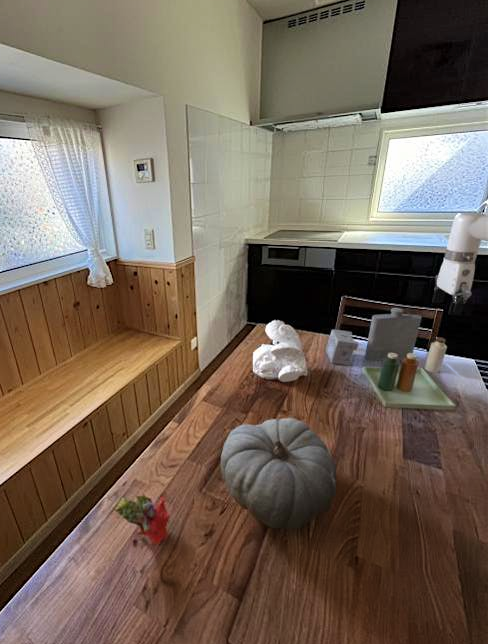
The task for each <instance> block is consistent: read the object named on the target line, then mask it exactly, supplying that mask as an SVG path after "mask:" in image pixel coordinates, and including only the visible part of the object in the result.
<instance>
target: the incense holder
mask: <svg viewBox="0 0 488 644" xmlns="http://www.w3.org/2000/svg"><path fill="white" fill-rule="evenodd" d="M329 334H330V335H329V338H328V341H327V344H326V347H325V352H326V354H327V357H328V359H329V362H330V363H331V364H337V365H344V366H352V365H353V361H352V356H353V354H354V351H356V350H357V349H358V347H359V342H357V341H356V340H354V339H353V337H352V335H353V332H352V331H349V330H348V331H347V330H340V329H334V328H333V329H331V331H330V333H329Z"/></svg>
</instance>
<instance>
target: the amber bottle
mask: <svg viewBox="0 0 488 644" xmlns="http://www.w3.org/2000/svg"><path fill="white" fill-rule="evenodd" d="M417 359H418V355H417V354H416V353H414V352H413V353H408V354H407V358H404V359H403V360H401V364H400V372H399V376H398V380H397V384H396V388H397V389H398V390H400V391H403V392H411V391H412V388H413V385H414V381H415V377H416V373H417V370H418V368H419V367H420V361H418V360H417Z"/></svg>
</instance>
